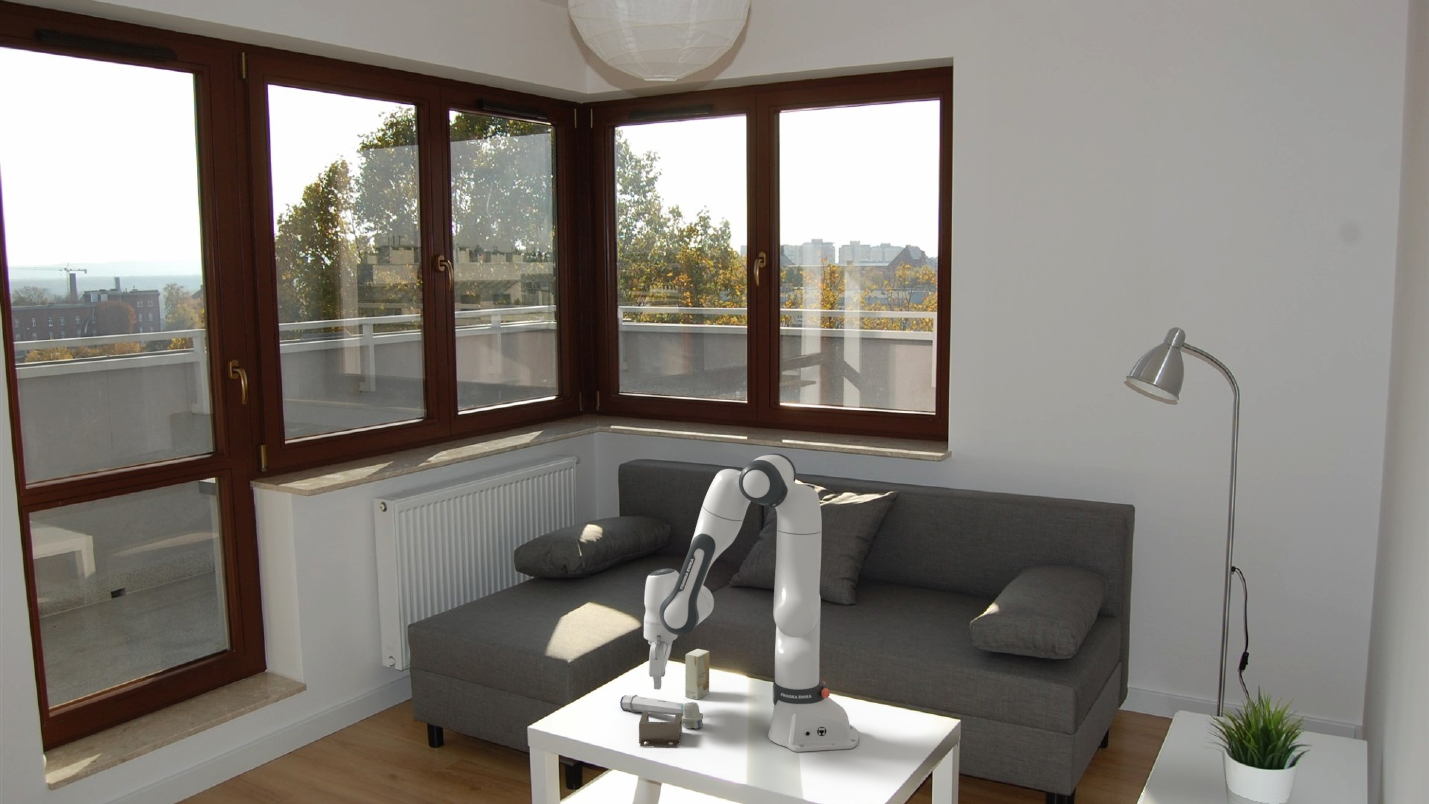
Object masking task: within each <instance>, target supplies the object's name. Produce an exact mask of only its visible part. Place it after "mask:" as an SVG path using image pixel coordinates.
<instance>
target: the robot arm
mask: <svg viewBox="0 0 1429 804" xmlns="http://www.w3.org/2000/svg"><path fill="white" fill-rule="evenodd" d="M796 478H797V470H796V466H795V464H794V463H793V461H792V460H791V459H790V458H789V457H788V456H786V455H784V454H781V453H770V454H769V453H768V454H767V455H761V456H759V457H757V458H755V459H753V460H752V461H750V462H748V463H746V465H744V467H743V468H742V470H741V471H740V470H737V469H733V468H725V469H721V470H720V471H718V472H717V473H716V474H715V477H714V478H713V480H712V482H711V484H710V485H709V488H708V490H707V492H706V495H705V497H704V500H703V503H702V506H701V509H700V512H699V516H698V519H697V523H696V525H695V526H696V527H695V529H694V530H695V531H694V532H693V533H694V534H693V536H692V539H691V543H690V546H689V549H688V552H687V554H686V557H685V560H684V561H683V564H682V567H681V570H680V573H679V572H678V571H677V570H676V569H674V568H673V569H672V568H660V569H657V570H654V571H652V572H650V573H649V574H648V575H647V577H646V579H645V587H644V597H643V598H644V602H643V603H644V607H645V613H644V617H643V638H644V639H645V640H647V641H648V642H647V643H648V644H649V645H650V647H649V648H650V649H649V657H648V658H649V659H648V662H649V663H648V675H649V677H650V678H652V679H653V690H661V689H662V677H663V678H664V677H665V675H666V667H667V664H668V661H669V658H670V654H671V652H672V651H671V650H672V644H673V641H674V640H676V639H677V638H678V636H686V635H689V634H691V632H693V630H695V628H696V627H697V626H698V625H699V624H700V623H701V622H703V621H704V620H705V619H707V618H708V617H709V616H710V615H711V614H712V612H713V611H714V607H715V598H714V595H713V593H712V591H711V590H710V589H709V588H708V587H707V586H706V585H704V583H705V581H706V578H707V575H708V573H709V570H710V568H711V567H712V565H713V564H714V562H715V561H716V559H718V558H719V556H721V554H722V553H723V552H724V551H725V550H726V549H728V548H729V547H730V546H731V545H732V544H733V543H734V541H735V540H736V538H737V536H738V534H739V532H740V530H741V528H742V525H743V523H744V519H745V516H746V513H747V510H748V507H749V505H750V504H751V502H752V503H755V504H757V505H762V506H763V507H766V508H769V509H774V508H775V510H776V550H775V551H776V552H775V553H776V555H775V556H776V558H775V570H774V571H775V573H774V574H775V576H774V589H773V591H774V592H773V610H772V612H773V620H774V623H775V625H776V627H775V628H776V629H775V644H774V645H775V646H774V647H775V649H774V680H773V681H772V682H773V684H772V703H773V711H772V717H771V723H770V727H769V731H768V734H767V736H768V738H769V740H770V741H772V742H773V743H775V744H777V745H779V746H783V747H786V748H787V749H789V750H791V751H793V752H796V753H800V752H801V753H802V752H817V751H828V750H829V751H833V750H834V751H835V750H850V749H854V748H855V747H857V745H858V744H859V742H860V741H859V732H858V730H857V729H856V727H855V726H854V725H852V724H851V723H850V721H849V716H848V713H847V711H846V710H845V709H844V707H843V706H841V705H840V704H839V703H837V702H836V701H834V700H833V699H832V698H831V697H830V695H831V694H830V690H829V689H828V685H827V684H826V682H825V680H823V681H822V680H820V644H821V642H820V640H821V638H820V637H821V604H822V603H821V602H822V601H821V595H820V586H821V585H820V584H821V569H822V568H821V566H822V564H821V563H822V536H823V535H822V533H823V532H822V531H823V530H822V527H823V526H822V525H823V524H822V510H821V501H820V497H819V494H818V492H817V491H816V489H815V488H813V487H812V486H809V485H806V484H798V483H796V480H797V479H796Z"/></svg>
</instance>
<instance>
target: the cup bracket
mask: <svg viewBox="0 0 1429 804" xmlns="http://www.w3.org/2000/svg"><path fill="white" fill-rule="evenodd" d="M641 713H642V714H641V717H640V719H639V723H638V744H639V747H640V746H654V747H653V748H675V749H676V747H678V745H680V744H679V743H681V738H682V735H681V734H682V733H683V725H682V713H676V715H674V720H673V721H672V722H671V721H650V720H649V719H650V717H649V716H650V713H649V712H641Z"/></svg>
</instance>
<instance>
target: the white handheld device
mask: <svg viewBox="0 0 1429 804" xmlns="http://www.w3.org/2000/svg"><path fill="white" fill-rule="evenodd" d="M619 705H620V709H621V710H623V711H628V712H632V713H637V712H639V713H643V712H649V714H660V715H668V716H669V715H671V716H675V715H676V713H682V728H683V727H684V728H689V729H688V730H691V729H692V728H694V729H699V728H702V727H703V726H704V723H703V722H704V721H703V719H704V713H702V712H700V708H699V704H698V703H697V702H694V701H693V702H686V703H683V702H682V703H681V702H675V701H670V700H664V699H656V698H650V697H646V696H645V697H644V696H639V695H637V694H634V695H630V694H629V695H628V694H626V695H623V696H621V699H620V701H619Z"/></svg>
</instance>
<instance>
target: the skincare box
mask: <svg viewBox="0 0 1429 804" xmlns="http://www.w3.org/2000/svg"><path fill="white" fill-rule="evenodd" d="M684 667H685V674H684V675H685V676H684V677H685V678H684V679H685V682H684V683H685V684H684V685H685V686H684V689H685V692H684V693H685V694H684V697H686V698H689V699H692V700H693V699H694V700H700V699H702V698H703V697H705V696H707V695H709V694H710V651H709V650H706V649H700V648H696V649H694V650H692V651H689V652H688V653H686V654H685V666H684ZM708 693H709V694H708Z"/></svg>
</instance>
